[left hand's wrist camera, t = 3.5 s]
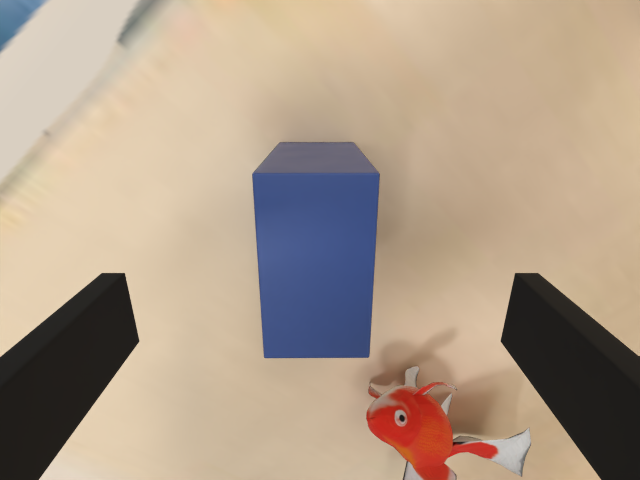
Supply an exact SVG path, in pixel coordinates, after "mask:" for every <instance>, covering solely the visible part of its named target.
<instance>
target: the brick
mask: <svg viewBox="0 0 640 480" xmlns="http://www.w3.org/2000/svg"><path fill="white" fill-rule="evenodd" d="M379 177H380V174H379V172H378V171H377V170H376V169H375V168H374V166H373V165H372V164H371V163H370V162H369V160H368V159H367V158H366V157H365V155H364V154H363V153H362V152H361V151H360V149H359V148H358V147H357V146H356V145H355V143H353V142H280V143H279V144H278V145H277V146H276V147H275V148H274V150H273V151H272V152H271V153H270V154H269V155H268V156H267V158H266V159H265V160H264V161H263V162H262V163H261V164H260V166H259V167H258V168H257V169H256V170H255V171H254V172H253V174H252V178H253V193H254V209H255V224H256V240H257V256H258V271H259V287H260V302H261V318H262V333H263V349H264V358H368V357H369V354H370V336H371V318H372V301H373V283H374V265H375V248H376V230H377V212H378V195H379Z"/></svg>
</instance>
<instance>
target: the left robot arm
mask: <svg viewBox="0 0 640 480" xmlns="http://www.w3.org/2000/svg"><path fill="white" fill-rule="evenodd" d="M138 342H139V338H138V333H137V328H136V323H135V319H134V314H133V309H132V305H131V300H130V295H129V291H128V286H127V281H126V277H125V273H102V274H100V275H99V276H98V277H97V278H96V279H94V280H93V281H92V282H91V283H89V284H88V285H87V286H86V287H85V288H83V289H82V290H81V291H80V292H79V293H77V294H76V295H75V296H74V297H73V298H71V299H70V300H69V301H68V302H67V303H65V304H64V305H63V306H62V307H60V308H59V309H58V310H57V311H56V312H54V313H53V314H52V315H51V316H50V317H48V318H47V319H46V320H45V321H44V322H42V323H41V324H40V325H39V326H37V327H36V328H35V329H34V330H33V331H31V332H30V333H29V334H28V335H27V336H25V337H24V338H23V339H22V340H21V341H19V342H18V343H17V344H16V345H14V346H13V347H12V348H11V349H10V350H8V351H7V352H6V353H5V354H4V355H2V356H1V357H0V480H39V479H40V477H41V476H42V474H43V473H44V472H45V470H46V469H47V468H48V466H49V465H50V463H51V462H52V461H53V459H54V458H55V457H56V455H57V454H58V452H59V451H60V450H61V448H62V447H63V446H64V444H65V443H66V441H67V440H68V439H69V437H70V436H71V435H72V433H73V432H74V430H75V429H76V428H77V426H78V425H79V424H80V422H81V421H82V419H83V418H84V417H85V415H86V414H87V413H88V411H89V410H90V408H91V407H92V406H93V404H94V403H95V402H96V400H97V399H98V397H99V396H100V395H101V393H102V392H103V391H104V389H105V388H106V386H107V385H108V384H109V382H110V381H111V380H112V378H113V377H114V375H115V374H116V373H117V371H118V370H119V369H120V367H121V366H122V364H123V363H124V362H125V360H126V359H127V358H128V356H129V355H130V353H131V352H132V351H133V349H134V348H135V347H136V345H137V344H138ZM501 342H502V344H503V345H504V347H505V348H506V349H507V351H508V352H509V353H510V355H511V356H512V358H513V359H514V360H515V362H516V363H517V364H518V366H519V367H520V369H521V370H522V371H523V373H524V374H525V375H526V377H527V378H528V380H529V381H530V382H531V384H532V385H533V386H534V388H535V389H536V391H537V392H538V393H539V395H540V396H541V397H542V399H543V400H544V402H545V403H546V404H547V406H548V407H549V408H550V410H551V411H552V413H553V414H554V415H555V417H556V418H557V419H558V421H559V422H560V424H561V425H562V426H563V428H564V429H565V430H566V432H567V433H568V435H569V436H570V437H571V439H572V440H573V441H574V443H575V444H576V446H577V447H578V448H579V450H580V451H581V452H582V454H583V455H584V457H585V458H586V459H587V461H588V462H589V463H590V465H591V466H592V468H593V469H594V470H595V472H596V473H597V474H598V476H599V477H600V479H601V480H640V356H638V355H636V354H635V353H634V352H633V351H632V350H630V349H629V348H628V347H627V346H626V345H624V344H623V343H622V342H621V341H619V340H618V339H617V338H616V337H615V336H613V335H612V334H611V333H610V332H609V331H607V330H606V329H605V328H604V327H603V326H601V325H600V324H599V323H598V322H596V321H595V320H594V319H593V318H592V317H590V316H589V315H588V314H587V313H586V312H584V311H583V310H582V309H581V308H580V307H578V306H577V305H576V304H575V303H573V302H572V301H571V300H570V299H569V298H567V297H566V296H565V295H564V294H563V293H561V292H560V291H559V290H558V289H557V288H555V287H554V286H553V285H552V284H551V283H549V282H548V281H547V280H546V279H544V278H543V277H542V276H541V275H540V274H538V273H515V277H514V281H513V286H512V291H511V295H510V300H509V305H508V309H507V314H506V319H505V323H504V328H503V333H502V338H501Z"/></svg>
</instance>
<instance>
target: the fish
mask: <svg viewBox="0 0 640 480" xmlns="http://www.w3.org/2000/svg"><path fill="white" fill-rule="evenodd" d="M418 372H419V367H418V366H414V367H412V368H409V369H407V370H406V372H405V384H404V386H401V385H399V386H396V387H394V388H392V389H390V390H389V391H387V392H385V393H384V394H383V395H381V394H380V393H379V392H377V391H376V390H374V389H373V388H372V387H371V386H370V383H369V394H370V395H371V396H373V397H375V398H376V400H375V401H374V402H373V403H372V404H371V405H370V407H369V409H368V411H367V417H366V419H367V421H368V427H369V429H370V430H371V432H372V433H373V434H374V435H375V436H377V437H378V438H379V439H381V440H382V441H384V442H386V443H388V444H389V445H391V446H393V447H394V448H395V449H396V450H397V451H398V452H399V453H400V454H401V455H402V456H403V457H404V458H405V460H407V463H406V468H405V473H404V477H403V480H456V474H455V473H454V472H453V471H452V470H451V469H450V468H449V467H448V466H447V465H445V464H444V462H445V461H446V459H447V458H448V457H450V456H452V455H455V454H457V453H461V452H469V453H473V454H476V455H478V456H481V457H483V458H486V459H489V460H491V461H494V462H496V463H498V464H500V465H502V466H503V467H505V468H507V469H508V470H510V471H512V472H514V473H516V474H518V475H520V476H521V477H522V471H523V465H524V461H525V456H526V454H527V452H528V450H529V448H530V445H531V439H530V430H529V428H528V429H527V430H525V431H524V432H522V433H520V434H517V435H515V436H513V437H510V438H508V439H500V440H487V441H483V440H481V439H477V438H473V437H467V436H459V437H457V438H455V439H453V433H452V429H451V425H450V422H449V419H448V417H447V415H448V410H449V406H450V402H451V399H452V393H451V394H450V395H449V396H448V397H447V399H446V400H445V401H444V402H443V404H442V405H441V406H440V405H439V403H438V402H437V401H436V400H434V399H433V398H432V397H431V396H430V395H429V394H427V393H428V392H429V391H430V390H431V389H432V388H434V387H435V386H438V385H446V386H448V387H451V388H454V389H456V390H457V388H456V387H455V386H454V385H451V384H446V383H443V382H436V383H431V384H429V385H427V386H424V387H422V388H420V389H418V388H417V387H416V378H417V375H418Z"/></svg>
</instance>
